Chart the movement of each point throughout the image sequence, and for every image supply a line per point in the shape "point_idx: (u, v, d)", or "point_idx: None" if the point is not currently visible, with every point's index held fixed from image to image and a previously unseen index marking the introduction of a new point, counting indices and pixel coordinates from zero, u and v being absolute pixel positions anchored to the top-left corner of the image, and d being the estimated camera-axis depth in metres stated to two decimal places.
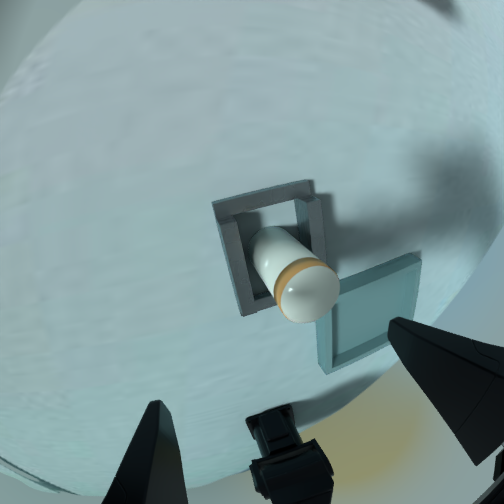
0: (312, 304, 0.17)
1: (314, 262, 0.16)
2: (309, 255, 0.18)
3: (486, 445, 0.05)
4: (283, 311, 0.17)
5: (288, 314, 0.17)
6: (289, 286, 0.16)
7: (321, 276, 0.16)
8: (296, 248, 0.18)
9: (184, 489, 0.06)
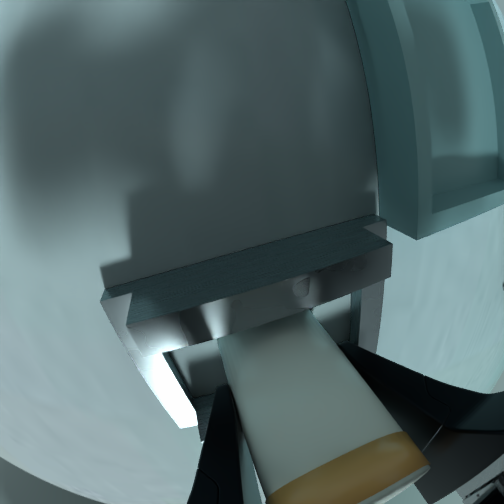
0: None
1: None
2: (265, 481, 0.05)
3: (437, 489, 0.04)
4: None
5: None
6: None
7: None
8: (250, 452, 0.06)
9: (255, 475, 0.07)
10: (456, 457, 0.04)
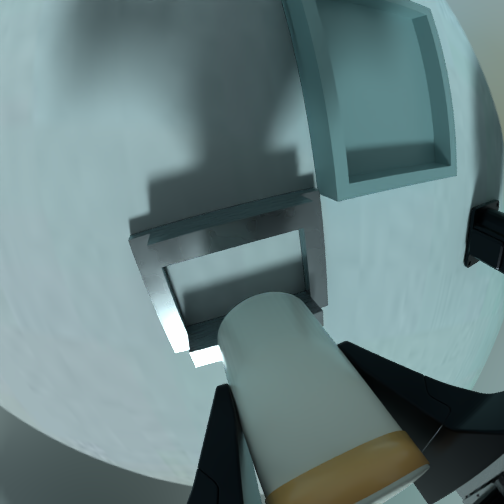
0: None
1: None
2: (265, 481, 0.05)
3: (437, 489, 0.04)
4: None
5: None
6: None
7: None
8: (250, 451, 0.06)
9: (255, 475, 0.07)
10: (457, 457, 0.04)
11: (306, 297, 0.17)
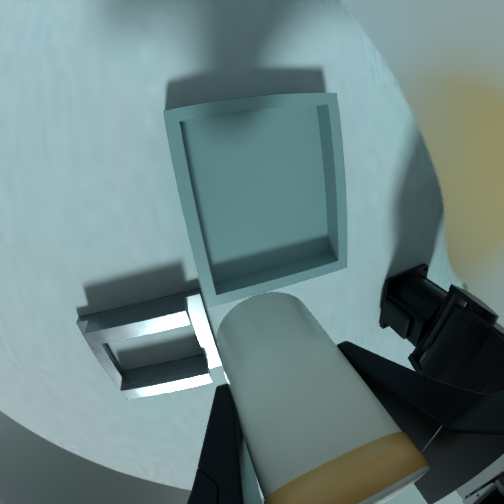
0: None
1: None
2: (264, 482, 0.05)
3: (437, 489, 0.04)
4: None
5: None
6: None
7: None
8: (249, 453, 0.06)
9: (255, 475, 0.07)
10: (456, 457, 0.04)
11: (202, 360, 0.23)
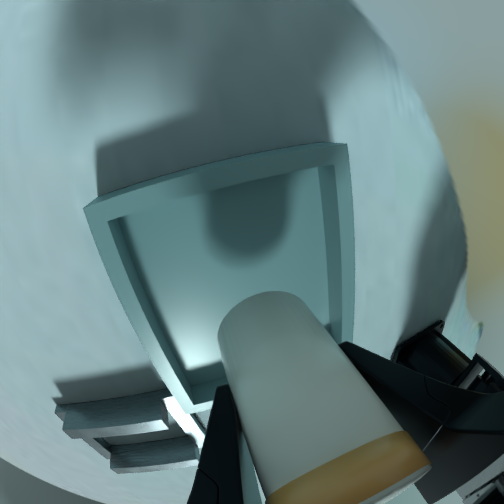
0: None
1: None
2: (265, 481, 0.05)
3: (437, 489, 0.04)
4: None
5: None
6: None
7: None
8: (250, 452, 0.06)
9: (255, 475, 0.07)
10: (457, 457, 0.04)
11: (190, 442, 0.18)
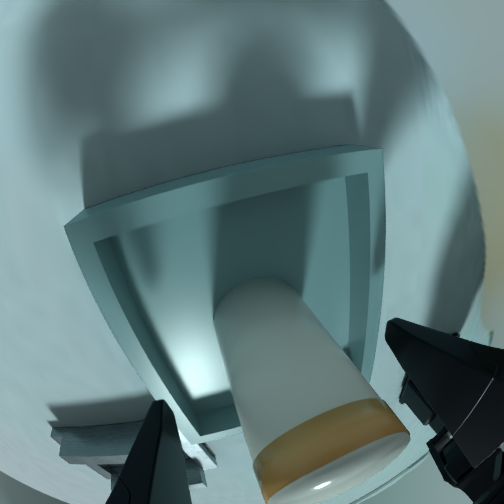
0: (366, 465, 0.05)
1: (262, 488, 0.05)
2: (252, 445, 0.06)
3: (484, 447, 0.05)
4: (349, 488, 0.06)
5: (360, 482, 0.06)
6: None
7: (298, 492, 0.04)
8: (240, 420, 0.07)
9: (187, 489, 0.06)
10: None
11: (195, 465, 0.16)
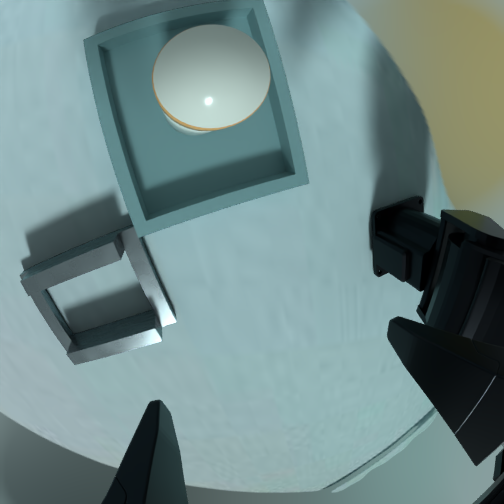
0: (232, 69, 0.08)
1: (152, 76, 0.08)
2: None
3: (486, 445, 0.05)
4: (237, 121, 0.09)
5: (244, 111, 0.09)
6: (186, 117, 0.08)
7: (173, 61, 0.07)
8: None
9: (184, 489, 0.06)
10: None
11: (152, 315, 0.19)
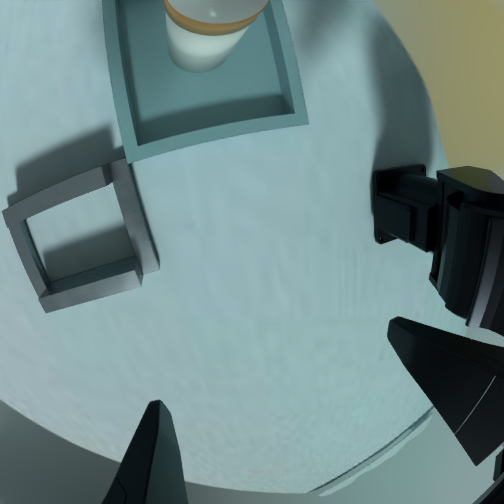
0: None
1: None
2: None
3: (486, 445, 0.05)
4: (237, 20, 0.07)
5: (245, 13, 0.07)
6: (190, 12, 0.07)
7: None
8: None
9: (184, 489, 0.06)
10: None
11: (133, 260, 0.18)
